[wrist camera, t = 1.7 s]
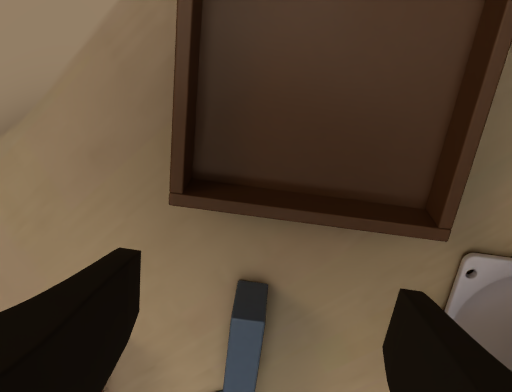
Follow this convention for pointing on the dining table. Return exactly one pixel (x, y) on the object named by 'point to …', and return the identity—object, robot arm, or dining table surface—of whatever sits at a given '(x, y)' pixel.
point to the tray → (334, 108)
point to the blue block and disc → (245, 337)
